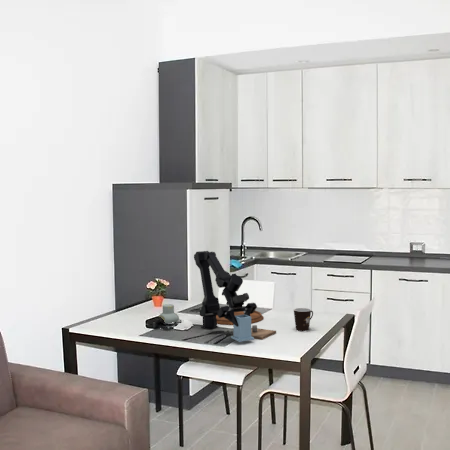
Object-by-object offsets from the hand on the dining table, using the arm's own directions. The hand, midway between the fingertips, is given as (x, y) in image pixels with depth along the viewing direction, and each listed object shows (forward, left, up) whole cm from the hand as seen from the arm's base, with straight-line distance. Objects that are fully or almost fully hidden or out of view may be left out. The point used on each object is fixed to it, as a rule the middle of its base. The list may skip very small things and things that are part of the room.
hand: (243, 325), depth 281 cm
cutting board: (-30, +41, -9) cm, 51 cm away
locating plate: (-3, +16, -8) cm, 18 cm away
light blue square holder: (-1, +1, -7) cm, 7 cm away
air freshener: (-53, +13, -8) cm, 55 cm away
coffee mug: (+14, +37, -8) cm, 40 cm away
